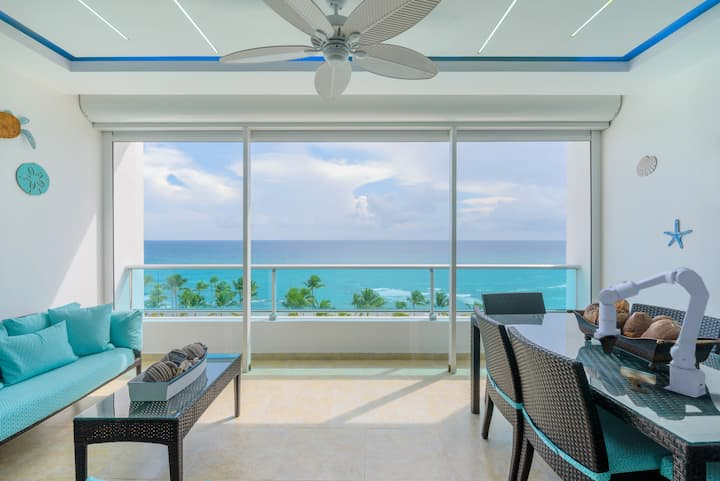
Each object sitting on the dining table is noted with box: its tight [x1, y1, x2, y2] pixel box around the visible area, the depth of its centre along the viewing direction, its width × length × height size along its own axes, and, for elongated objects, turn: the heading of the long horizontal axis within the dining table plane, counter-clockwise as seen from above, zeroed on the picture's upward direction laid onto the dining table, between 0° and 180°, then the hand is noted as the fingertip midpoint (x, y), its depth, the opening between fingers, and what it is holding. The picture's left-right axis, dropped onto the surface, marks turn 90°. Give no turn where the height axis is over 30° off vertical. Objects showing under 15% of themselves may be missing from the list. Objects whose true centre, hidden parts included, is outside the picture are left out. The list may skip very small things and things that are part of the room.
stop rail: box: [620, 365, 657, 385], centre depth 153 cm, size 12×1×3 cm, turn 28°
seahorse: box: [627, 377, 652, 395], centre depth 146 cm, size 6×15×2 cm, turn 155°
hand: (607, 354), depth 154 cm, fingers closed
